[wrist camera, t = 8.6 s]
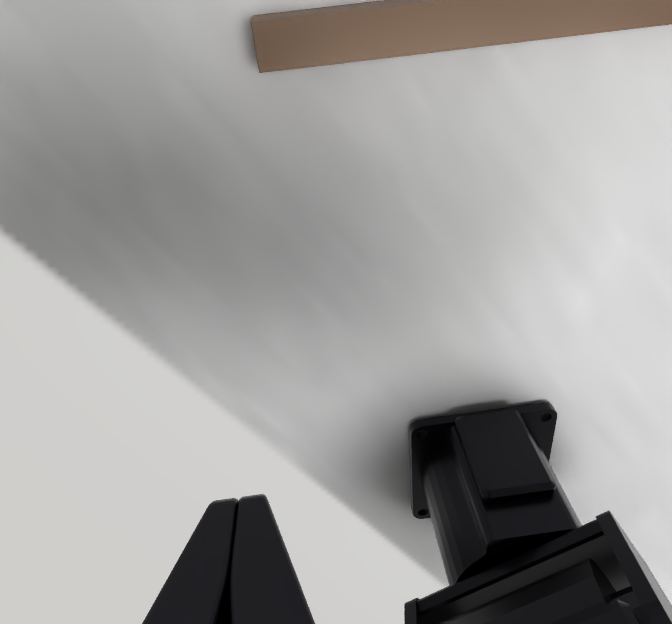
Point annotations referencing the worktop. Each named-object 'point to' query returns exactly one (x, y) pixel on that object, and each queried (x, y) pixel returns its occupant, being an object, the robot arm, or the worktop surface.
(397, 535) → the worktop surface
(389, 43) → the slot guide
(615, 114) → the worktop surface
